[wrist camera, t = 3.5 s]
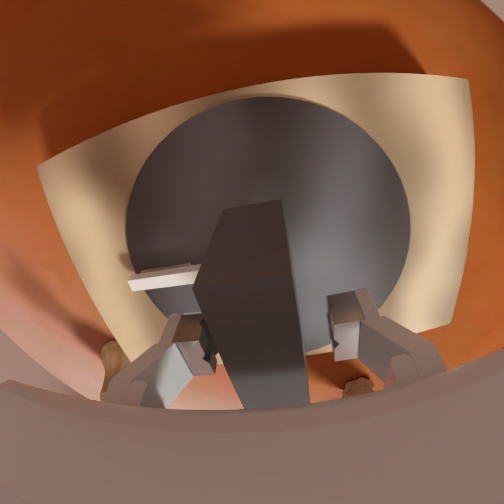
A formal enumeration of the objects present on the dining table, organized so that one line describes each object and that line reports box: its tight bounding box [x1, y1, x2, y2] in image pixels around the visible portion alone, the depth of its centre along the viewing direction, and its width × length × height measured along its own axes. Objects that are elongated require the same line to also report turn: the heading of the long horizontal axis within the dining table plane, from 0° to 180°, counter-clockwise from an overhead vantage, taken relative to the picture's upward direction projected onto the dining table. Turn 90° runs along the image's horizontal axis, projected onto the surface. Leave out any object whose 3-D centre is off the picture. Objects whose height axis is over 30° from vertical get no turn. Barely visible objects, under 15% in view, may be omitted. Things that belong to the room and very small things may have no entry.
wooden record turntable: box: [36, 73, 475, 365], centre depth 16 cm, size 24×16×4 cm, turn 102°
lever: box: [128, 199, 310, 409], centre depth 11 cm, size 9×7×7 cm
